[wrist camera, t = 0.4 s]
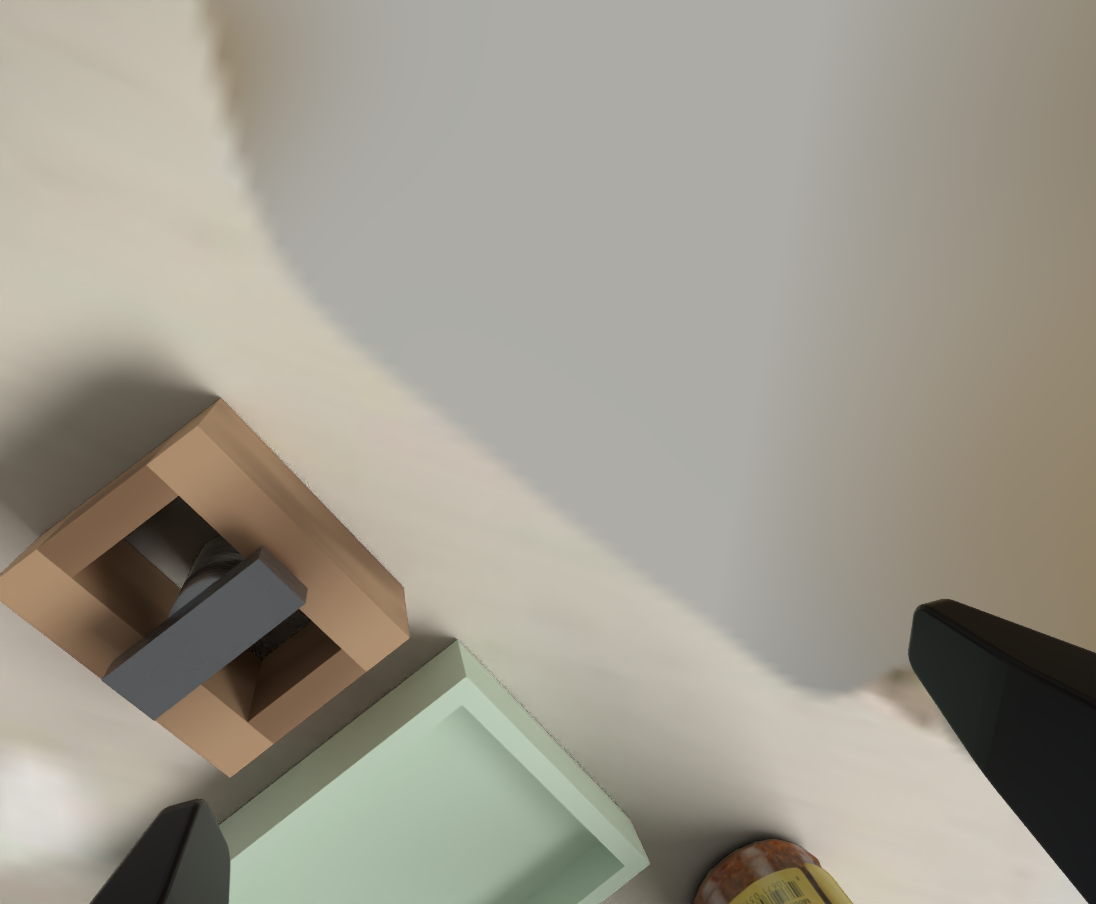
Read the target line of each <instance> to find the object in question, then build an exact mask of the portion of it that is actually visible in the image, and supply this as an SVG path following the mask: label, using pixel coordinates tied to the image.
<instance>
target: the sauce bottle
mask: <svg viewBox="0 0 1096 904" xmlns="http://www.w3.org/2000/svg"><path fill="white" fill-rule="evenodd" d="M693 904H853V903H852V902H851V900H850V899H849V898H848V896H847V895H846V894H845V893H844V891H843V890H842V889H841V887H840V886H839V885H838V883H837V882H836V881H835V880H834V878H833V877H832V876H831V875H830V874H829V873H828V872H827V871H825V870H824V869H822V867H821V866H820V863H819V861H818V859H817V858H816V857H814V856H813V855H811V854H810V853H809V852H807V851H806V850H805V849H804V848H802V847H801V846H798V845H795V844H793V843H790V842H787V841H782V840H780V839H768V840H763V841H755V842H753V843H752V844H749V845H746V846H744V847H742V848H739V849H736V850H735V851H733V852H731V853H730V854H729V855H728V856H726V857H725V858H724V859H723V860H721V861H720V863H718V864H717V865H716V866H715V867H714V868H712V869H711V870H710V871H709V872H708V874H707V875H706V877H705V879H704V881H703V882H702V884H701V885H700V886H699V889H698V892H697V895H696V897H695V899H694V902H693Z"/></svg>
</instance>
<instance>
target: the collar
mask: <svg viewBox="0 0 1096 904" xmlns="http://www.w3.org/2000/svg"><path fill="white" fill-rule="evenodd" d="M178 496H180V497H181V498H182V499H183V500H184V501H185V502H186V503H187V504H188V505H189V506H190V507H192V508H193V509H194V510H195V511H196V512H197V513H198V514H199V515H200V516H201V517H202V518H203V519H204V520H205V521H206V522H208V523H209V524H210V525H211V526H212V527H213V528H214V529H215V530H216V531H217V532H218V533H219V534H220V535H221V536H222V537H223V538H225V539H226V540H227V541H228V542H229V543H230V544H231V545H232V546H233V547H234V548H235V549H236V550H237V551H238V552H239V553H240V554H242V555H243V556H244V557H245V558H246V557H248V556H249V555H250V554H252V553H253V552H254V551H255V550H257V549H258V548H259V547H261V546H262V545H264V546H265V547H266V548H267V549H268V550H269V551H270V552H271V553H272V554H273V555H274V556H275V557H276V558H277V559H278V560H279V561H280V562H281V563H282V564H283V565H284V566H285V567H286V568H287V569H288V570H289V571H291V572H292V573H293V574H294V575H295V576H296V577H297V578H298V579H299V580H300V581H301V582H302V583H303V584H304V585H305V586H306V587H307V588H308V591H307V598H306V604H304V605H303V606H302V607H301V608H299V609H300V610H301V611H302V612H303V613H304V614H305V615H306V616H307V617H309V618H310V619H311V620H312V621H311V622H310V623H309V624H308V625H306V626H305V627H304V628H302V629H301V630H300V631H299V632H297V633H296V634H295V635H293V636H292V637H291V638H289V639H288V640H287V641H286V642H284V643H283V644H282V645H280V646H279V647H278V648H277V649H275V650H274V651H273V652H271V653H270V654H269V655H268V656H266V657H265V658H264V659H262V660H261V659H260V658H259V657H258V656H256V655H255V654H254V653H253V652H252V651H251V650H250V649H246V650H245V651H244V652H242V653H241V654H240V655H239V656H237V657H236V658H235V659H233V660H232V661H231V662H230V663H228V664H227V665H226V666H224V667H223V668H222V669H220V670H219V671H218V672H217V673H215V674H214V675H213V676H211V677H210V678H209V679H208V680H206V681H205V682H204V683H202V684H201V685H200V686H199V687H197V688H196V689H195V690H193V691H192V692H191V693H189V694H188V695H187V696H186V697H184V698H183V699H182V700H180V701H179V702H178V703H177V704H175V705H174V706H173V707H171V708H170V709H169V710H168V711H166V712H165V713H164V714H162V715H161V716H160V717H159V718H157V719H156V720H155V721H157V722H158V723H159V724H160V725H162V726H163V727H164V728H166V729H167V730H168V731H170V732H171V733H172V734H173V735H175V736H176V737H177V738H179V739H180V740H181V741H183V742H184V743H185V744H186V745H188V746H189V747H190V748H192V749H193V750H194V751H196V752H197V753H198V754H199V755H201V756H202V757H203V758H205V759H206V760H207V761H208V762H210V763H211V764H212V765H214V766H215V767H216V768H218V769H219V770H220V771H221V772H223V773H224V774H225V775H227V776H228V777H229V778H231V777H232V776H233V775H235V774H236V773H237V772H238V771H240V770H241V769H242V768H244V767H245V766H246V765H247V764H249V763H250V762H251V761H253V760H254V759H255V758H256V757H258V756H259V755H260V754H262V753H263V752H264V751H265V750H267V749H268V748H269V747H271V746H272V745H273V744H274V743H276V742H277V741H278V740H280V739H281V738H282V737H283V736H285V735H286V734H287V733H289V732H290V731H291V730H292V729H294V728H295V727H296V726H298V725H299V724H300V723H301V722H303V721H304V720H305V719H307V718H308V717H309V716H310V715H312V714H313V713H314V712H316V711H317V710H318V709H319V708H321V707H322V706H323V705H325V704H326V703H327V702H328V701H330V700H331V699H332V698H334V697H335V696H336V695H337V694H339V693H340V692H341V691H343V690H344V689H345V688H346V687H348V686H349V685H350V684H352V683H353V682H354V681H355V680H357V679H358V678H359V677H360V676H362V675H363V674H364V673H366V672H367V671H368V670H369V669H371V668H372V667H373V666H375V665H376V664H377V663H378V662H380V661H381V660H382V659H384V658H385V657H386V656H387V655H389V654H390V653H391V652H393V651H394V650H395V649H396V648H398V647H399V646H400V645H402V644H403V643H404V642H405V641H407V640H408V639H409V638H410V636H409V628H408V620H407V612H406V603H405V595H404V587H403V586H402V585H401V584H400V583H399V582H398V581H397V580H396V579H395V578H394V577H393V576H392V575H391V574H390V573H389V572H388V571H387V570H386V569H385V568H384V567H383V566H382V565H381V564H380V563H379V561H378V560H377V559H376V558H375V557H374V556H373V555H372V554H371V553H370V552H369V551H368V550H367V549H366V548H365V547H364V546H363V545H362V544H361V543H360V542H359V541H358V540H357V539H356V538H355V537H354V535H353V534H352V533H351V532H350V531H349V530H348V529H347V528H346V527H345V526H344V525H343V524H342V523H341V522H340V521H339V520H338V519H337V518H336V517H335V516H334V515H333V514H332V513H331V512H330V511H329V510H328V508H327V507H326V506H325V505H324V504H323V503H322V502H321V501H320V500H319V499H318V498H317V497H316V496H315V495H314V494H313V493H312V492H311V491H310V490H309V489H308V488H307V487H306V486H305V485H304V484H303V482H302V481H301V480H300V479H299V478H298V477H297V476H296V475H295V474H294V473H293V472H292V471H291V470H290V469H289V468H288V467H287V466H286V465H285V464H284V463H283V462H282V461H281V460H280V459H279V458H278V457H277V455H276V454H275V453H274V452H273V451H272V450H271V449H270V448H269V447H268V446H267V445H266V444H265V443H264V442H263V441H262V440H261V439H260V438H259V437H258V436H257V435H256V434H255V433H254V432H253V431H252V430H251V428H250V427H249V426H248V425H247V424H246V423H245V422H244V421H243V420H242V419H241V418H240V417H239V416H238V415H237V414H236V413H235V412H234V411H233V410H232V409H231V408H230V407H229V406H228V405H227V404H226V402H225V401H224V400H223V399H222V398H220V399H219V400H217V401H216V402H215V403H214V404H212V405H211V406H210V407H208V408H207V409H206V410H204V411H203V412H202V413H200V414H199V415H198V416H197V417H195V418H194V419H193V420H191V421H190V422H189V423H187V424H186V425H185V426H184V427H182V428H181V429H180V430H178V431H177V432H176V433H174V434H173V435H172V436H170V437H169V438H168V439H167V440H165V441H164V442H163V443H161V444H160V445H159V446H157V447H156V448H155V449H154V450H152V451H151V452H150V453H148V454H147V455H146V456H144V457H143V458H142V459H140V460H139V461H138V462H137V463H135V464H134V465H133V466H131V467H130V468H129V469H127V470H126V471H125V472H123V473H122V474H121V475H120V476H118V477H117V478H116V479H114V480H113V481H112V482H110V483H109V484H108V485H107V486H105V487H104V488H103V489H101V490H100V491H99V492H97V493H96V494H95V495H93V496H92V497H91V498H90V499H88V500H87V501H86V502H84V503H83V504H82V505H80V506H79V507H78V508H77V509H75V510H74V511H73V512H71V513H70V514H69V515H67V516H66V517H65V518H63V519H62V520H61V521H60V522H58V523H57V524H56V525H54V526H53V527H52V528H50V529H49V530H48V531H46V532H45V533H44V534H43V535H41V536H40V537H39V538H38V539H37V540H36V541H34V542H33V543H32V544H31V545H30V546H29V547H28V548H27V549H26V550H25V551H24V552H23V553H22V554H21V555H20V556H19V557H18V558H17V559H16V560H15V561H14V562H12V563H11V564H10V565H9V566H8V567H7V568H6V569H5V570H4V571H3V572H2V573H1V574H0V601H1V602H2V603H3V604H5V605H6V606H7V607H9V608H10V609H11V610H12V611H14V612H15V613H16V614H18V615H19V616H20V617H22V618H23V619H24V620H25V621H27V622H28V623H29V624H31V625H32V626H33V627H35V628H36V629H37V630H38V631H40V632H41V633H42V634H44V635H45V636H46V637H48V638H49V639H50V640H51V641H53V642H54V643H55V644H57V645H58V646H59V647H60V648H62V649H63V650H64V651H66V652H67V653H68V654H70V655H71V656H72V657H73V658H75V659H76V660H77V661H79V662H80V663H81V664H83V665H84V666H85V667H86V668H88V669H89V670H90V671H92V672H93V673H94V674H96V675H97V676H98V677H99V678H101V679H102V678H103V676H104V675H105V673H106V671H107V669H108V668H109V666H110V664H111V662H112V661H113V660H114V659H116V658H117V657H118V656H119V655H121V654H122V653H123V652H125V651H126V650H127V649H129V648H130V647H131V646H132V645H134V644H135V643H136V642H138V641H139V640H140V639H141V638H143V637H144V636H145V635H147V634H148V633H149V632H151V631H152V630H153V629H154V628H156V627H157V626H158V625H160V624H161V623H162V622H163V621H165V620H166V619H167V618H168V617H169V613H170V611H171V609H172V607H173V605H174V603H175V601H176V599H177V597H178V595H179V593H180V591H181V589H180V588H179V587H178V586H177V585H175V584H174V583H173V582H172V581H171V580H170V579H169V578H167V577H166V576H165V575H164V574H163V573H162V572H161V571H159V570H158V569H157V568H156V567H155V566H154V565H153V564H151V563H150V562H149V561H148V560H147V559H146V558H145V557H143V556H142V555H141V554H140V553H139V552H138V551H137V550H135V549H134V548H133V547H132V546H131V545H130V544H129V543H127V542H126V541H125V540H124V539H123V538H124V537H126V536H127V535H128V534H129V533H131V532H132V531H133V530H135V529H136V528H137V527H139V526H140V525H141V524H142V523H144V522H145V521H146V520H148V519H149V518H150V517H152V516H153V515H154V514H156V513H157V512H158V511H159V510H161V509H162V508H163V507H165V506H166V505H167V504H169V503H170V502H171V501H172V500H174V499H175V498H176V497H178Z"/></svg>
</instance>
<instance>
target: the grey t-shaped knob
mask: <svg viewBox="0 0 1096 904" xmlns="http://www.w3.org/2000/svg"><path fill="white" fill-rule="evenodd" d="M307 591H308V588H307V587H306V586H305V585H304V584H303V583H302V582H301V581H300V580H299V579H298V578H297V577H296V576H295V575H294V574H293V573H292V572H291V571H289V570H288V569H287V568H286V567H285V566H284V565H283V564H282V563H281V562H280V561H279V560H278V559H277V558H276V557H275V556H274V555H273V554H272V553H271V552H270V551H269V550H268V549H267V548H266V547H265V546H264V545H262V546H261V547H259V548H258V549H257V550H255V551H254V552H253V553H252V554H250V555H249V556H248V557H246V558H245V557H244V556H243V555H242V554H240V553H239V552H238V551H237V550H236V549H235V548H234V547H233V546H232V545H231V544H230V543H229V542H228V541H227V540H226V539H225V538H223V537H222V536H221V535H219V536H217V537H215V538H213V539H211V540H210V541H208V542H207V543H206V544H205V545H204V546H203V548H202V549H201V551H200V553H199V555H198V557H197V559H196V561H195V563H194V565H193V567H192V569H191V571H190V573H189V575H188V577H187V579H186V581H185V583H184V585H183V587H182V589H181V591H180V593H179V595H178V597H177V599H176V601H175V603H174V605H173V607H172V609H171V611H170V613H169V617H168V618H167V619H166V620H165V621H163V622H162V623H161V624H160V625H158V626H157V627H156V628H154V629H153V630H152V631H151V632H149V633H148V634H147V635H145V636H144V637H143V638H141V639H140V640H139V641H138V642H136V643H135V644H134V645H132V646H131V647H130V648H129V649H127V650H126V651H125V652H123V653H122V654H121V655H119V656H118V657H117V658H116V659H114V660H113V661H112V662H111V664H110V666H109V668H108V669H107V671H106V673H105V675H104V676H103V678H102V681H103V682H104V683H106V684H107V685H108V686H110V687H111V688H112V689H113V690H115V691H116V692H117V693H119V694H120V695H121V696H123V697H124V698H125V699H126V700H128V701H129V702H130V703H132V704H133V705H134V706H136V707H137V708H138V709H139V710H141V711H142V712H143V713H145V714H146V715H147V716H149V717H150V718H151V719H152V720H154V721H155V720H156V719H157V718H159V717H160V716H161V715H162V714H164V713H165V712H166V711H168V710H169V709H170V708H171V707H173V706H174V705H175V704H177V703H178V702H179V701H180V700H182V699H183V698H184V697H186V696H187V695H188V694H189V693H191V692H192V691H193V690H195V689H196V688H197V687H199V686H200V685H201V684H202V683H204V682H205V681H206V680H208V679H209V678H210V677H211V676H213V675H214V674H215V673H217V672H218V671H219V670H220V669H222V668H223V667H224V666H226V665H227V664H228V663H230V662H231V661H232V660H233V659H235V658H236V657H237V656H239V655H240V654H241V653H242V652H244V651H245V650H246V649H248V648H249V647H250V646H251V645H253V644H254V643H255V642H257V641H258V640H259V639H260V638H262V637H263V636H264V635H266V634H267V633H268V632H270V631H271V630H272V629H273V628H275V627H276V626H277V625H279V624H280V623H281V622H282V621H284V620H285V619H286V618H288V617H289V616H290V615H291V614H293V613H294V612H295V611H297V610H298V609H299V608H301V607H302V606H303V605H304V604H306V598H307Z"/></svg>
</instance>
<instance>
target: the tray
mask: <svg viewBox="0 0 1096 904" xmlns="http://www.w3.org/2000/svg"><path fill="white" fill-rule="evenodd" d="M219 827H220V829H221V832H222V834H223V836H224V838H225V840H226V842H227V844H228V848H229V853H230V890H229V904H601V903H602V902H603V901H604V900H606V899H607V898H608V897H609V896H611V895H612V894H613V893H614V892H616V891H617V890H618V889H620V888H621V887H622V886H623V885H625V884H626V883H627V882H628V881H630V880H631V879H632V878H633V877H635V876H636V875H637V874H638V873H640V872H641V871H642V870H644V869H645V868H646V867H647V866H649V865H650V862H649V860H648V857H647V855H646V853H645V851H644V849H643V846H642V844H641V842H640V840H639V838H638V836H637V833H636V831H635V829H634V827H633V825H632V822H631V820H630V819H629V818H628V817H627V815H626V814H625V813H624V812H623V811H622V810H621V809H620V808H619V807H618V806H617V805H616V804H615V803H614V802H613V801H612V800H611V799H610V798H609V797H608V796H607V795H606V794H605V793H604V792H603V790H602V789H601V788H600V787H599V786H598V785H597V784H596V783H595V782H594V781H593V780H592V779H591V778H590V777H589V776H588V775H587V774H586V773H585V772H584V771H583V770H582V769H581V768H580V766H579V765H578V764H577V763H576V762H575V761H574V760H573V759H572V758H571V757H570V756H569V755H568V754H567V753H566V752H565V751H564V750H563V749H562V748H561V747H560V746H559V745H558V744H557V742H556V741H555V740H554V739H553V738H552V737H551V736H550V735H549V734H548V733H547V732H546V731H545V730H544V729H543V728H542V727H541V726H540V725H539V724H538V723H537V722H536V721H535V720H534V719H533V717H532V716H531V715H530V714H529V713H528V712H527V711H526V710H525V709H524V708H523V707H522V706H521V705H520V704H519V703H518V702H517V701H516V700H515V699H514V698H513V697H512V696H511V695H510V693H509V692H508V691H507V690H506V689H505V688H504V687H503V686H502V685H501V684H500V683H499V682H498V681H497V680H496V679H495V678H494V677H493V676H492V675H491V674H490V673H489V672H488V671H487V669H486V668H485V667H484V666H483V665H482V664H481V663H480V662H479V661H478V660H477V659H476V658H475V657H474V656H473V655H472V654H471V653H470V652H469V651H468V650H467V649H466V648H465V647H464V645H463V644H462V643H461V642H460V641H459V640H458V639H457V640H456V641H455V642H454V643H452V644H451V645H450V646H448V647H447V648H446V649H445V650H443V651H442V652H441V653H440V654H438V655H437V656H436V657H434V658H433V659H432V660H431V661H429V662H428V663H427V664H425V665H424V666H423V667H422V668H420V669H419V670H418V671H416V672H415V673H414V674H413V675H411V676H410V677H409V678H407V679H406V680H405V681H404V682H402V683H401V684H400V685H398V686H397V687H396V688H395V689H393V690H392V691H391V692H389V693H388V694H387V695H386V696H384V697H383V698H382V699H380V700H379V701H378V702H377V703H375V704H374V705H373V706H372V707H370V708H369V709H368V710H366V711H365V712H364V713H363V714H361V715H360V716H359V717H357V718H356V719H355V720H354V721H352V722H351V723H350V724H348V725H347V726H346V727H345V728H343V729H342V730H341V731H339V732H338V733H337V734H336V735H334V736H333V737H332V738H330V739H329V740H328V741H327V742H325V743H324V744H323V745H321V746H320V747H319V748H318V749H316V750H315V751H314V752H312V753H311V754H310V755H309V756H307V757H306V758H305V759H303V760H302V761H301V762H300V763H298V764H297V765H296V766H295V767H293V768H292V769H291V770H289V771H288V772H287V773H286V774H284V775H283V776H282V777H280V778H279V779H278V780H277V781H275V782H274V783H273V784H271V785H270V786H269V787H268V788H266V789H265V790H264V791H262V792H261V793H260V794H259V795H257V796H256V797H255V798H253V799H252V800H251V801H250V802H248V803H247V804H246V805H244V806H243V807H242V808H241V809H239V810H238V811H237V812H235V813H234V814H233V815H232V816H230V817H229V818H228V819H227V820H225V821H224V822H223V823H221V824H220V825H219Z"/></svg>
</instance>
